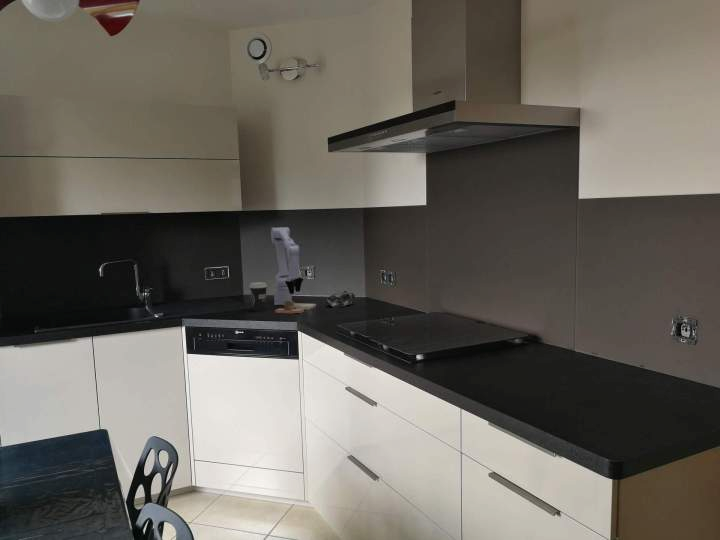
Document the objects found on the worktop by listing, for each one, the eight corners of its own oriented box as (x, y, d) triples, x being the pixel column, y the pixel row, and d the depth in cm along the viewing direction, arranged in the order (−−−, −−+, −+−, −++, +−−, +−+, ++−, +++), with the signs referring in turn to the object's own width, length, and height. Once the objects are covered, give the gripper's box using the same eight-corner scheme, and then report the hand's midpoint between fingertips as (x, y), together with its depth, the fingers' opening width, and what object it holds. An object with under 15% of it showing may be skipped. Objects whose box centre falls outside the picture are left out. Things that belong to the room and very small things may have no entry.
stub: (275, 312, 300) (274, 301, 299) (279, 311, 304) (279, 299, 304) (299, 313, 295) (299, 302, 294) (303, 311, 300) (303, 300, 299)
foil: (325, 298, 322) (347, 284, 321) (336, 314, 322) (358, 299, 321) (322, 301, 310) (345, 285, 309) (333, 317, 310) (356, 302, 309)
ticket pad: (286, 308, 312) (285, 305, 311) (293, 305, 320) (292, 303, 320) (309, 309, 307) (309, 306, 307) (316, 306, 316) (316, 303, 316)
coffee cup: (255, 313, 301) (254, 284, 299) (247, 310, 308) (245, 283, 307) (271, 310, 307) (270, 282, 305) (262, 308, 314) (261, 281, 313)
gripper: (294, 269, 299) (295, 295, 301) (306, 266, 313) (307, 290, 315) (282, 269, 302) (283, 294, 303) (294, 266, 315) (295, 290, 317)
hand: (294, 292), depth 309 cm, fingers open, 7 cm apart
